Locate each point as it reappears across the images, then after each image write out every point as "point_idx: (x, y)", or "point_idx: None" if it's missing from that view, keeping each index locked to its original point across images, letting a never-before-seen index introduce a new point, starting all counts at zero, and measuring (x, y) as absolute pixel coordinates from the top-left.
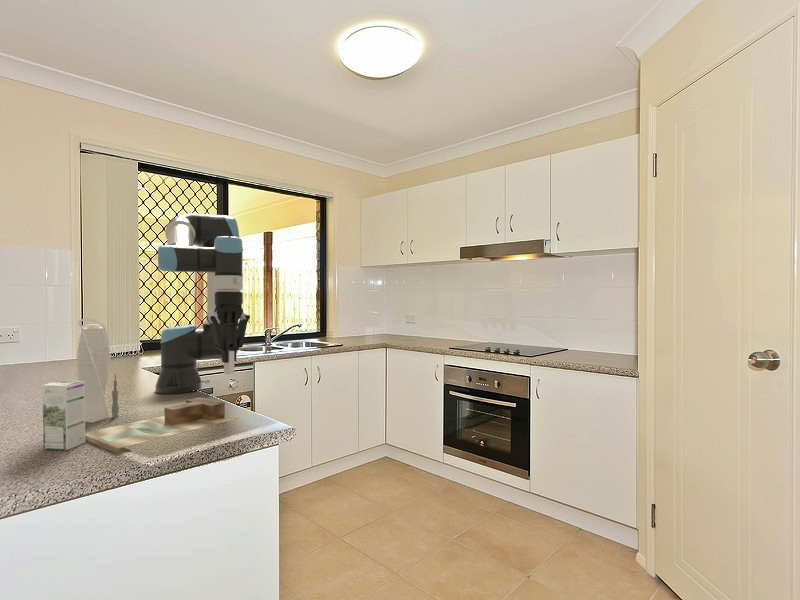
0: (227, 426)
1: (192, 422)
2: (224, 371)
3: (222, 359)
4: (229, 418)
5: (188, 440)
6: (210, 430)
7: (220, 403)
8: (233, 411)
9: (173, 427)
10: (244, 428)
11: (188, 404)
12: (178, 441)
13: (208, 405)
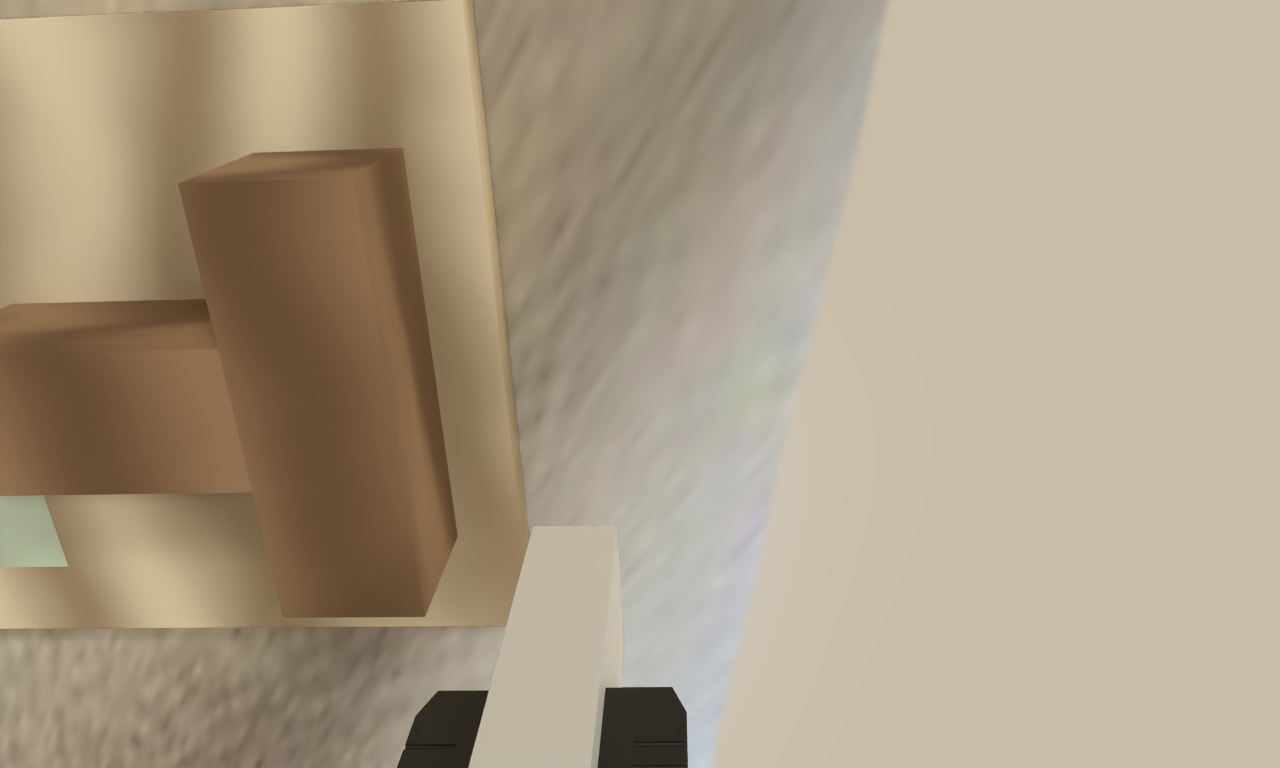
0: None
1: None
2: (528, 558)
3: (410, 756)
4: (472, 581)
5: (103, 680)
6: None
7: (384, 610)
8: (728, 261)
9: None
10: None
11: (133, 417)
12: (47, 654)
13: (276, 579)
